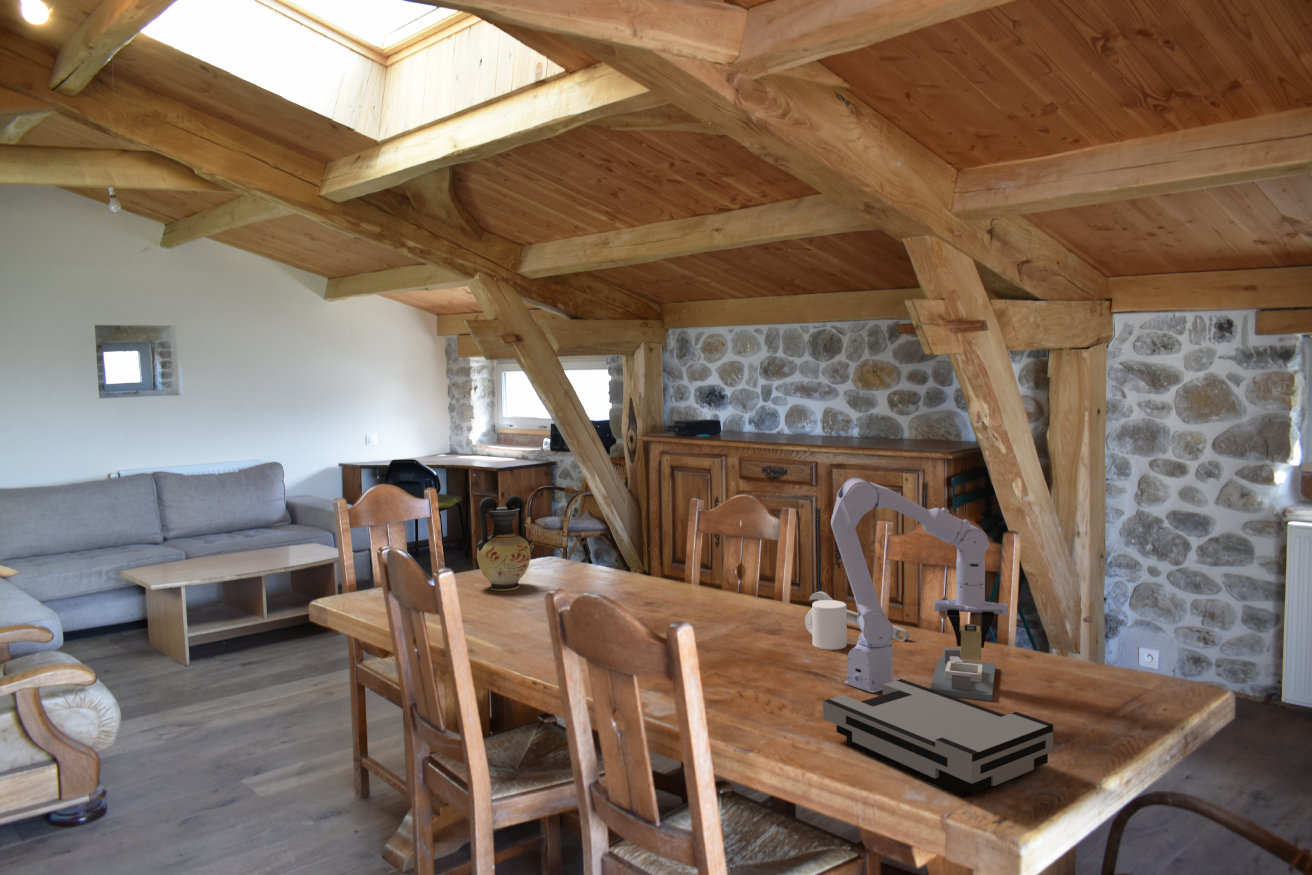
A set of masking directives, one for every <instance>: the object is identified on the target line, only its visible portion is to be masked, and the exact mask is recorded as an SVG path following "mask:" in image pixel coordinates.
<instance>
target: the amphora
mask: <svg viewBox="0 0 1312 875" xmlns="http://www.w3.org/2000/svg"><path fill="white" fill-rule="evenodd" d="M517 512H518V514H517ZM478 513H479V514H478V516H479V521H480V530H481V532H480V533H481V537H480V540H479V541H478V542H477V543H476V548H477V552H476V560H477V564H478V566H479V570H480V571H481V573H482V575H483V576H484V578H486V579H487V581H489V583H490V585H491V586H490V590H493V591H497V592H506V591H515V590H517V589H519V588H520V586H521V585H520V583H519V581H520V580H521V578H522V577H524V575H525V574H526V572H527V570H528V568H529V565H530V562H531V548H530V545H529V538H528V537H527V536H526V535H525V501H524V499H523V498H522V497H521V496H520V495H515V494H513V495H510V496H509V497H507V498H506V500H505V506H502V507H498V501H497V500H496V499H495V497H491V496H487V497H484V498H482V499H481V501H480V502H479V504H478ZM486 514H488V517H489V519H490V521H492V524H493V525H492V526H493V531H492V533H491V534H490V536H489V534H488V524H487V523H488V522H487V516H486ZM516 517H517V534H516V533H515V532H514V526H513V523H514V522H513V521H514V520H515V518H516Z"/></svg>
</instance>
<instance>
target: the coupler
mask: <svg viewBox="0 0 1312 875" xmlns="http://www.w3.org/2000/svg"><path fill="white" fill-rule="evenodd" d="M960 641H961V645H960V646H959V648H960V657H961V660H973V661H976V660H977V661H982V648H981V626H980V625H977V624H973V623H966V624H960Z"/></svg>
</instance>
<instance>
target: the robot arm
mask: <svg viewBox="0 0 1312 875" xmlns="http://www.w3.org/2000/svg"><path fill="white" fill-rule="evenodd" d="M874 507H875V508H876V509H878V510H879V509H881V510H882V509H888V508H890V509H891V510H894V511H896V512H898V513H901V515H902V514H903V515H904V516H907V517H909V518H911V519H913V520H915V521H917V522H920V523H921V525H922V529H923V531H924V533H927V534H928V535H930V536H933V537H935V538H937V539H938V540H940V541H943V542H944V543H947V544H949V545H951V546H955V548H956V560H955V561H956V565H955V566H956V572H955V573H956V574H955V575H956V577H955V588H956V589H955V590H956V592H955V596H956V597H955V598H956V599H948V600H947V599H946V600H941V599H940V600H939V599H936V600H934V601H933V604H934V607H933V608H934V612H940V611H942V612H947V617H948V619H949V622H950V624H951V627H952V629H953V632H954V635H955V640H956V642H955V643H956V646H957V647H960V645H961V641H960V625H961V613H975V614H977V613H978V614H979V613H980V614H979V616H980V617H979V618H980V619H979V620H980V625H979V626H980V629H981V649H984V648H985V642H986V639H987V635H988V633H989V631H990V629H991V627H992V625H993V623H994V621H995V614H996V615H997V614H998V615H1003V616H1008V605H1007V603H999V602H993V601H991V602H990V601H986V600H985V599H986V592H985V591H986V588H985V587H986V561H985V560H986V556H985V554H986V552H987V551H988V550H989V547H990V541H989V540H988V536H987V534H986V533H985V532H984V531H983V530H982V529H980V528H978V527H976V526H975V525H973V524H972V523H970V521H969V520H968V519H966V518H965V519H961V518H959V517H957V516H955V515H952V514H951V513H950V510H949V509H947V508H946V507H942V508H939V507H933V508H930V509H927V508H926V507H923V506H922V505H919V504H918V503H916V502H914V501H913V500H911V499H910V498H906V497H905V496H903V495H901V494H900V493H897V491H896V492H895V491H894V490H892V489H890V488H888V487H885V486H883V485H881V484H880V485H879V484H877V483H874V482H871V481H869V482H868V481H867V480H865V479H864V478H862V477H851V478H848V479H847V480H846V481H845V482H844V483H843V485H842V486H841V487H840V488H839V490H838V491H837V494H836V501H835V503H834V507H833V513H832V515H831V519H830V527H831V530H832V532H833V536H834V538H835V542H836V545H837V548H838V551H839V554H840V557H841V559H842V560H841V561H842V564H843V565H844V570H845V572H846V575H847V578H848V582H849V585H850V588H851V590H852V594H853V597H854V600H855V605H856V609H857V613H858V618H857V623H858V625H857V626H858V628H859V629H860V631H861V633H860V634H859V635H858V638H857V643H856V645H855V646H854V647H853V648H851V649H850V650H849V651H848V654H847V680H844V684H845V685H847V686H850V687H854V688H856V689H859V690H863V691H866V692H869V693H872V694H875V693H878V692H881V691H883V684H885V683H889V682H892V681H896V680H897V679H895V678H893V640H892V639H893V634H894V629H893V626H892V625H893V623H892V622H891V621H890V620H889V619H888V618H887V617H886V613H884V611H883V608H882V604H881V603H880V600H879V598H878V595H877V591H876V588H875V585H874V582H873V580H872V577H871V574H870V571H869V567H868V564H867V561H866V558H865V555H864V551H863V549H862V546H861V543H860V539H859V536H858V533H857V530H856V527H857V525H858V524H859V522H860V521H861V519H862V518H863V517H864V516H865V515H866V514H867V513H868V512H870V511H871V510H872V509H873V508H874Z"/></svg>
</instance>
